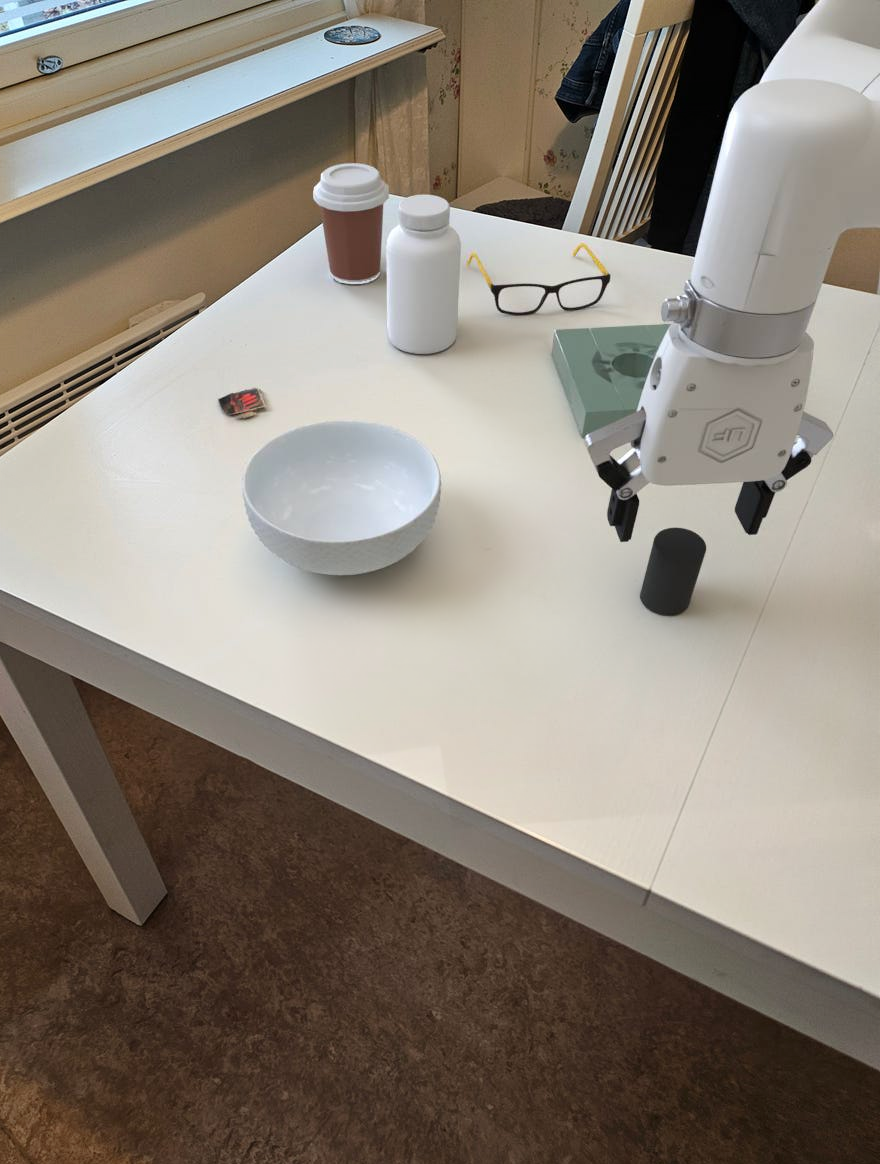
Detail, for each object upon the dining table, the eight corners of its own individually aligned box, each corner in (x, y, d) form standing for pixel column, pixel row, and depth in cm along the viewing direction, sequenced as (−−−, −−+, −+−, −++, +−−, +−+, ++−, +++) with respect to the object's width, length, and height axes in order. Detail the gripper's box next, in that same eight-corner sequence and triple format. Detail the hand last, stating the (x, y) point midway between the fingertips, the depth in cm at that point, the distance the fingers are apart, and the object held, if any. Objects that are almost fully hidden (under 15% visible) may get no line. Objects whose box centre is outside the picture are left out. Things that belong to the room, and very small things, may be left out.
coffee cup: (364, 297, 110) (359, 195, 101) (305, 279, 114) (295, 179, 105) (404, 267, 115) (403, 168, 106) (347, 251, 119) (341, 154, 110)
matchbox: (213, 402, 95) (212, 398, 94) (256, 387, 97) (256, 383, 96) (233, 423, 92) (233, 419, 92) (277, 407, 94) (277, 403, 94)
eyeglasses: (491, 320, 106) (493, 288, 103) (466, 265, 115) (467, 234, 112) (608, 309, 107) (614, 277, 104) (573, 256, 117) (578, 224, 114)
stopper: (681, 580, 76) (697, 525, 71) (695, 614, 73) (713, 559, 69) (634, 583, 76) (648, 528, 71) (647, 617, 73) (661, 563, 68)
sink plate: (709, 345, 101) (715, 321, 99) (758, 427, 90) (766, 401, 88) (551, 354, 100) (554, 329, 98) (581, 437, 90) (585, 412, 87)
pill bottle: (446, 361, 100) (449, 224, 89) (378, 350, 102) (373, 214, 91) (465, 327, 105) (471, 193, 94) (400, 317, 107) (398, 184, 96)
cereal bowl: (457, 592, 75) (460, 527, 70) (258, 618, 73) (246, 553, 68) (421, 470, 86) (421, 407, 81) (247, 490, 85) (236, 426, 80)
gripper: (622, 351, 53) (581, 566, 65) (907, 338, 54) (812, 553, 66) (594, 291, 58) (560, 501, 71) (854, 280, 59) (775, 490, 71)
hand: (682, 526), depth 68 cm, fingers open, 9 cm apart
